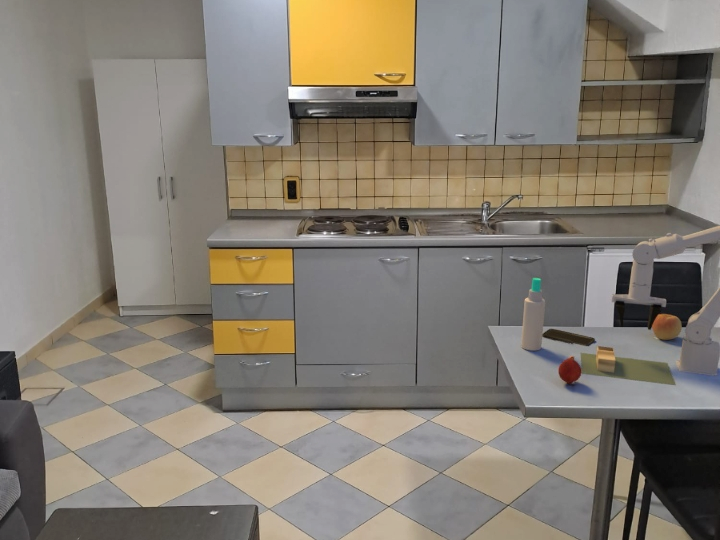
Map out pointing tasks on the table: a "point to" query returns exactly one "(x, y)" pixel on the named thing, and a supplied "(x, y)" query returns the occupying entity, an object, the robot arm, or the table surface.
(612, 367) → the wooden cubby box
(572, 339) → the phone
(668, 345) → the table surface
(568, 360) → the onion
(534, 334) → the spray bottle
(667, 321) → the apple
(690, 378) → the table surface
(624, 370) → the rubber mat
